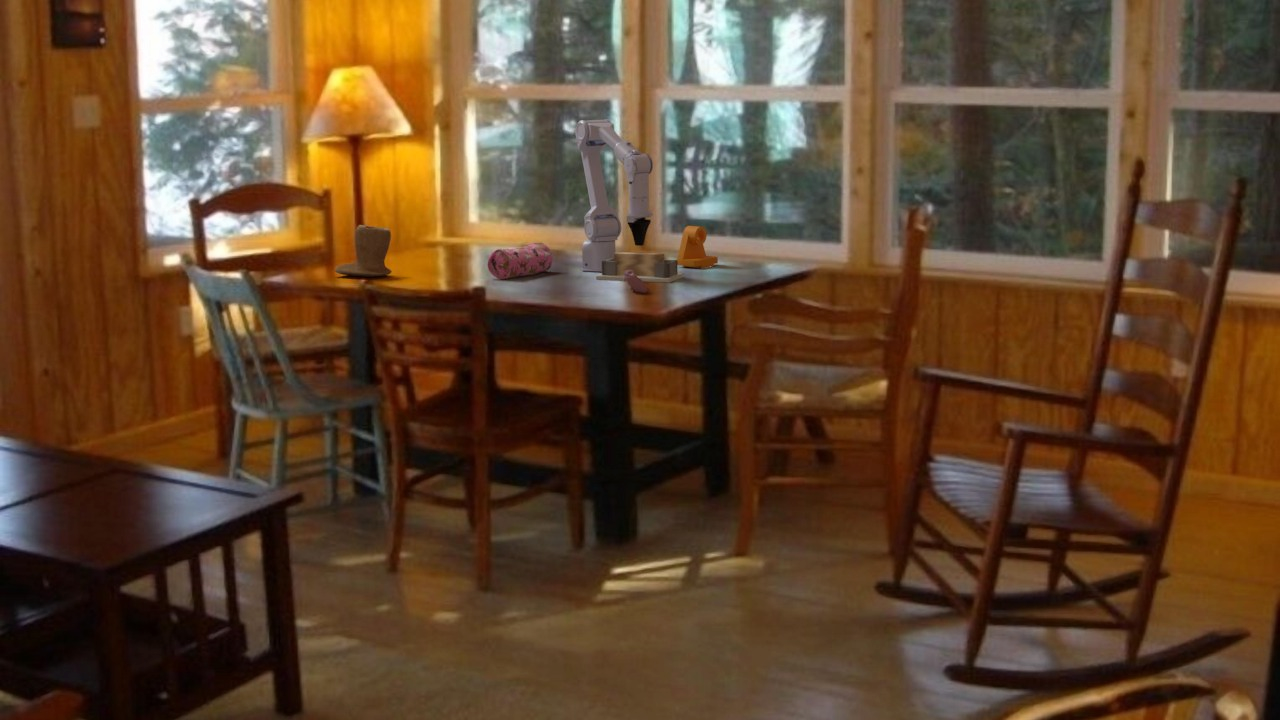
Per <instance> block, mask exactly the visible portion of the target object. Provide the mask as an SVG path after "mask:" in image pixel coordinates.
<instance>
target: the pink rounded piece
mask: <svg viewBox="0 0 1280 720" xmlns="http://www.w3.org/2000/svg"><path fill="white" fill-rule="evenodd" d="M624 277H625V279H624V278H623V280H624V281H623V282H625V283H627V284H628V286H629V290H631V291H632V292H633V293H634V292H639V293H641V294H645V293H647V292H648V287H647V286H646V284H645V282H643V281H642V280H641V279H639V278H638V277H637V276H636V273H635V271H633V270H627V271H625V273H624Z"/></svg>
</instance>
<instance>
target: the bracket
mask: <svg viewBox="0 0 1280 720" xmlns="http://www.w3.org/2000/svg"><path fill="white" fill-rule="evenodd" d="M683 229H684V230H683V232H682V237H681V240H680V245H679V248H678V254H677V257H676V258H677V259H676V260H677V266H682V267H683V266H684V267H685V268H692V267H693V269H701V268H702V269H707V268H706V267H708V268H711V267H710V266H713V267H714V265H716V264H718V258H719V257H718V256H716V255H715V256H714V255H707V254H706V250H705V247H704V244H705V242H706V240H707V234H708V233H707V230H706V228H705V227H703V226H696V225H687V226H686V227H684V228H683Z"/></svg>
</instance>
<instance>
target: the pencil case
mask: <svg viewBox="0 0 1280 720" xmlns="http://www.w3.org/2000/svg"><path fill="white" fill-rule="evenodd" d="M552 265H553V255H552V251H551V249H550V248H549V247H548V246H547V245H546V244H545V243H543V242H532V243H529V244H528V245H527V244H526V245H525V246H520V247H515V248H497V249H495V250H494V251H493V252H491V254H490V255H489V257H488V258H487V269H488V271H489V272H490V274H491V275H492V276H493V277H495V278H496V279H498V280H506V279H512V278H517V277H524V276H525V277H526V276H530V275H531V276H532V275H538V274H540V273H544V272H546V271H547V272H548V270H550V269H551V267H552Z"/></svg>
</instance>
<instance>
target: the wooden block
mask: <svg viewBox="0 0 1280 720" xmlns="http://www.w3.org/2000/svg"><path fill="white" fill-rule="evenodd" d="M664 260H665V253H655V252H653V253H651V252H648V253H647V252H630V251H629V252H627V251H626V252H625V251H624V252H622V251H617V252H616V253H614V261H617V275H624V273H625V271H627V270H633V271H635V273H636V275H638V276H655V269H654V263H664Z"/></svg>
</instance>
